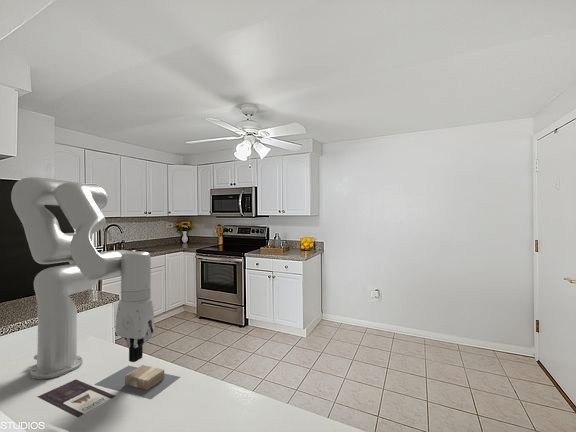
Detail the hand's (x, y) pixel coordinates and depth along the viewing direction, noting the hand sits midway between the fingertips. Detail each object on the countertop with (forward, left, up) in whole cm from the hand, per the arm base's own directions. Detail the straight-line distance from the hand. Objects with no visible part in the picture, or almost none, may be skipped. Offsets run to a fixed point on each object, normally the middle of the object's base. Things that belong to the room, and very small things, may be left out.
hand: (135, 359), depth 82 cm
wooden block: (-1, 0, -4) cm, 4 cm away
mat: (+1, 0, -6) cm, 6 cm away
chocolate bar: (-8, -11, -7) cm, 15 cm away
